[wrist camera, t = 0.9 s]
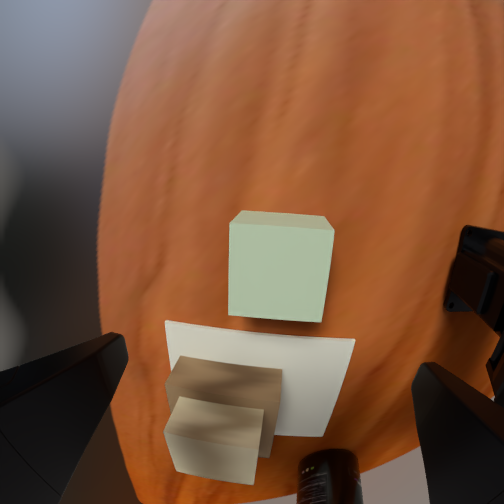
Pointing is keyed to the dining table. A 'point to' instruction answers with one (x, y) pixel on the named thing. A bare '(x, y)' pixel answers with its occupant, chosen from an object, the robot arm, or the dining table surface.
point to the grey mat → (275, 356)
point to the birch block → (214, 440)
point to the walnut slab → (229, 389)
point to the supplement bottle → (329, 478)
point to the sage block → (279, 265)
